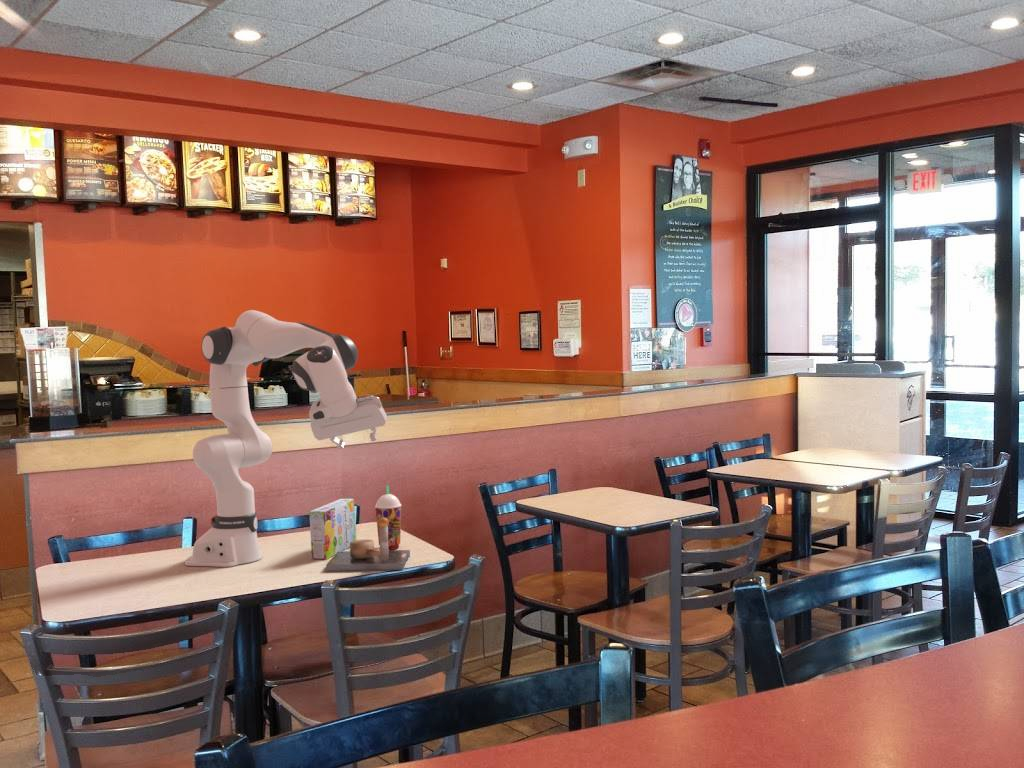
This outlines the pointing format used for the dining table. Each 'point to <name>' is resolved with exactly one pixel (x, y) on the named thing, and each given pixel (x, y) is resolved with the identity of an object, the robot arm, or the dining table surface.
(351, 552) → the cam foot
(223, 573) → the dining table surface
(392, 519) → the smoothie
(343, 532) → the snack box
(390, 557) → the stand plate
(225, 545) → the robot arm
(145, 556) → the dining table surface
